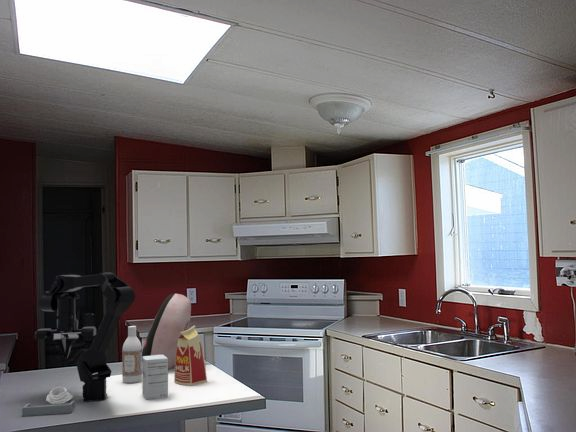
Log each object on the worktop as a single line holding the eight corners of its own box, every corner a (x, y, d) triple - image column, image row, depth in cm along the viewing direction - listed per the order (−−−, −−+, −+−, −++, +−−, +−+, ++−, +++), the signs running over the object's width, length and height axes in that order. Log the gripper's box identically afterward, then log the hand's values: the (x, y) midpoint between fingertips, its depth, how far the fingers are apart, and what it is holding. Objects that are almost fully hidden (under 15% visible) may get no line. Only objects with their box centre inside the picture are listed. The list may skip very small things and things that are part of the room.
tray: (74, 408, 166) (74, 400, 167) (71, 412, 162) (71, 404, 162) (27, 411, 164) (27, 403, 164) (22, 416, 159) (22, 407, 160)
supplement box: (141, 394, 181) (141, 356, 182) (164, 391, 184) (164, 353, 185) (145, 399, 175) (145, 359, 175) (168, 397, 177) (168, 357, 178)
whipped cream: (74, 401, 179) (76, 385, 180) (69, 404, 172) (71, 388, 173) (48, 401, 177) (50, 385, 178) (43, 404, 171) (44, 388, 172)
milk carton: (191, 378, 203) (190, 324, 205) (208, 381, 198) (207, 325, 199) (171, 383, 196) (171, 327, 198) (188, 386, 190) (188, 328, 192)
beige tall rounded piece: (148, 362, 234) (148, 292, 236) (194, 361, 235) (193, 291, 237) (137, 374, 212) (137, 296, 214) (188, 372, 214) (187, 295, 215)
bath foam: (119, 383, 197) (119, 327, 198) (126, 379, 204) (126, 325, 205) (138, 383, 197) (138, 327, 198) (144, 379, 204) (144, 324, 205)
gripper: (99, 308, 195) (99, 352, 194) (43, 310, 192) (43, 355, 191) (93, 311, 184) (93, 358, 183) (34, 314, 181) (34, 361, 180)
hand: (66, 358), depth 184 cm, fingers closed
